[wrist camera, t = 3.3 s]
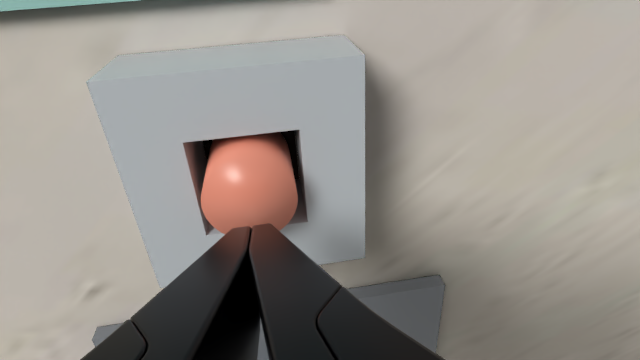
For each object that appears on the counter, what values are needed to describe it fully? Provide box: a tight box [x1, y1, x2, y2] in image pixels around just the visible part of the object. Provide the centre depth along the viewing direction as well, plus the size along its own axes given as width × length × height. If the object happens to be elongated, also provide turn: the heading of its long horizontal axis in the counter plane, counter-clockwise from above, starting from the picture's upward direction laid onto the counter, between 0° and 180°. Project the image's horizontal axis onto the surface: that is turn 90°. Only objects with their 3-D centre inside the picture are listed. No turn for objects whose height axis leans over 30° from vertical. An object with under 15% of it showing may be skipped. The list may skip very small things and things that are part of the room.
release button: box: [201, 132, 298, 234], centre depth 11 cm, size 2×2×2 cm
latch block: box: [86, 35, 365, 288], centre depth 12 cm, size 6×6×2 cm
